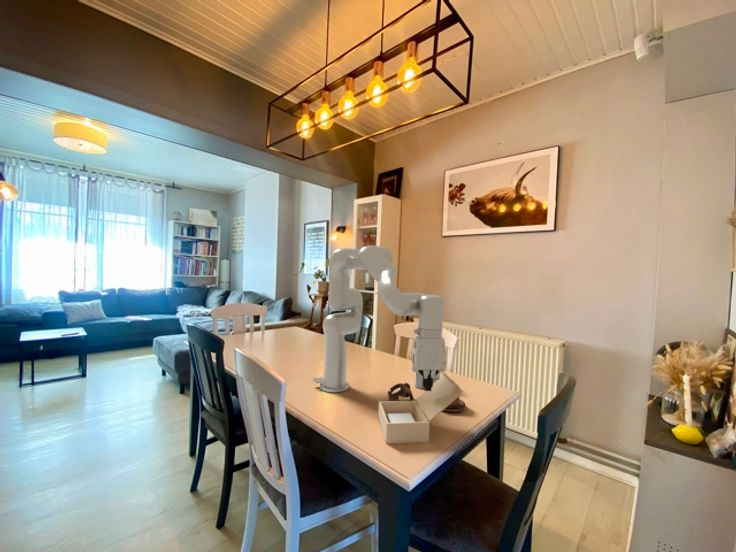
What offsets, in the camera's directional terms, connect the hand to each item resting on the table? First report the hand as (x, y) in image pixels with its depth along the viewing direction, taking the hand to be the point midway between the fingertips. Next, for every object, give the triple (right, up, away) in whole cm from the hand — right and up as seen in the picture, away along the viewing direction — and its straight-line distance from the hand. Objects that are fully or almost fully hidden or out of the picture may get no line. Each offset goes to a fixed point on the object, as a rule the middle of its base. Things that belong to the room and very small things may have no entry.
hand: (427, 389), depth 100 cm
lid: (+2, 0, 0) cm, 2 cm away
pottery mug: (-6, -13, +20) cm, 24 cm away
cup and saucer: (+11, -13, +17) cm, 25 cm away
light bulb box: (+7, -13, +37) cm, 40 cm away
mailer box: (-8, -13, -1) cm, 15 cm away
